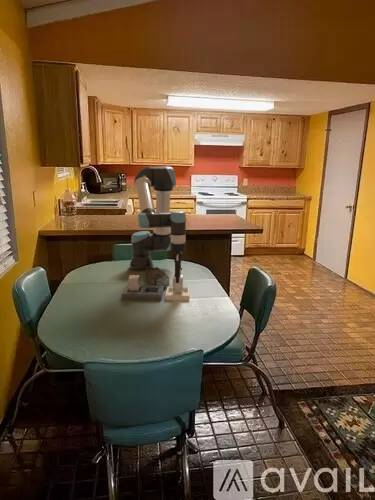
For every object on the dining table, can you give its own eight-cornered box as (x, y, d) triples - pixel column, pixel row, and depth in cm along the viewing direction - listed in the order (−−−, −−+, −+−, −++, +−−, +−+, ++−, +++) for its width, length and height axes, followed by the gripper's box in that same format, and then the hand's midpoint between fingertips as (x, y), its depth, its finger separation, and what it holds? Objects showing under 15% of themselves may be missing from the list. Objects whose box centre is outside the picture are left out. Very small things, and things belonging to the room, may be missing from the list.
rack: (126, 290, 182) (126, 285, 182) (163, 291, 182) (163, 285, 181) (121, 299, 171) (121, 293, 170) (161, 300, 171) (161, 294, 170)
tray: (167, 291, 182) (167, 286, 181) (189, 291, 182) (189, 286, 181) (165, 300, 171) (165, 295, 170) (189, 300, 170) (189, 295, 170)
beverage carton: (156, 289, 185) (155, 277, 183) (145, 278, 202) (145, 267, 200) (169, 287, 188) (169, 275, 187) (157, 276, 205) (157, 266, 204)
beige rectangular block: (130, 293, 179) (130, 275, 176) (140, 293, 179) (139, 275, 176) (129, 296, 174) (128, 278, 172) (138, 296, 174) (138, 278, 172)
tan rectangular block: (173, 292, 178) (173, 274, 176) (182, 292, 178) (183, 274, 176) (172, 296, 174) (172, 277, 171) (182, 296, 174) (182, 278, 171)
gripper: (171, 237, 179) (172, 278, 185) (168, 247, 159) (169, 292, 165) (186, 237, 179) (185, 278, 185) (184, 247, 159) (184, 293, 165)
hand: (177, 285), depth 175 cm, fingers open, 8 cm apart
